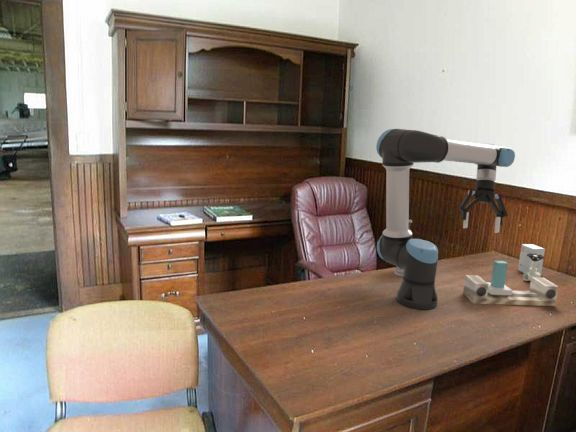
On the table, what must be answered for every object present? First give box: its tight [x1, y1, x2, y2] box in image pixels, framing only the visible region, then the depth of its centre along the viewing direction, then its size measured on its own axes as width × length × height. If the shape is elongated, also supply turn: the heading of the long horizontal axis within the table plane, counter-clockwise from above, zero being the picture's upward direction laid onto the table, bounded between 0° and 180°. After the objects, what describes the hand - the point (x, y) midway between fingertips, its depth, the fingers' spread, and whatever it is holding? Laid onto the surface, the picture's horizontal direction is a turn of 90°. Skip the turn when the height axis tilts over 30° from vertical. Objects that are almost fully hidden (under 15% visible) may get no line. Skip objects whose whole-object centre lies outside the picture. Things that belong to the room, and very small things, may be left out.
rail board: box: [462, 274, 559, 307], centre depth 179 cm, size 32×10×8 cm, turn 91°
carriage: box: [486, 260, 513, 296], centre depth 178 cm, size 8×8×13 cm
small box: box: [517, 243, 546, 276], centre depth 212 cm, size 8×6×13 cm
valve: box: [522, 253, 545, 282], centre depth 202 cm, size 7×7×12 cm
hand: (480, 230), depth 191 cm, fingers open, 13 cm apart
